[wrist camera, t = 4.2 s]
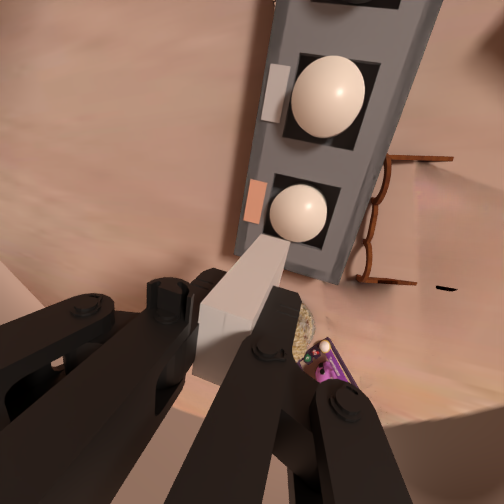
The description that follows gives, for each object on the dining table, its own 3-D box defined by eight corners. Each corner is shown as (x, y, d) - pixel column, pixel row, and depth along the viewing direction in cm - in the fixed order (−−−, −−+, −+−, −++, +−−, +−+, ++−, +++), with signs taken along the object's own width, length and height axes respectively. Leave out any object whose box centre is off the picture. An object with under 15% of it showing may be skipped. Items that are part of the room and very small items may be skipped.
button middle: (305, 65, 21) (301, 51, 18) (369, 73, 20) (376, 60, 17) (290, 132, 23) (284, 129, 20) (348, 143, 22) (350, 142, 19)
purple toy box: (276, 371, 36) (323, 334, 32) (300, 372, 39) (345, 338, 35) (297, 426, 31) (355, 390, 28) (322, 421, 34) (376, 389, 31)
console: (313, -132, 19) (309, -201, 15) (480, -133, 17) (522, -214, 13) (245, 242, 31) (232, 255, 27) (337, 268, 29) (338, 286, 25)
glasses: (371, 151, 26) (379, 152, 22) (528, 156, 23) (575, 157, 19) (350, 268, 31) (353, 288, 27) (477, 285, 28) (505, 311, 24)
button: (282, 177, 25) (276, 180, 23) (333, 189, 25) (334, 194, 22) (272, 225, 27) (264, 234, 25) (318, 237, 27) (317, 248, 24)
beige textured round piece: (248, 277, 33) (234, 298, 28) (326, 303, 31) (325, 331, 26) (234, 336, 37) (219, 363, 32) (302, 362, 35) (297, 396, 30)
